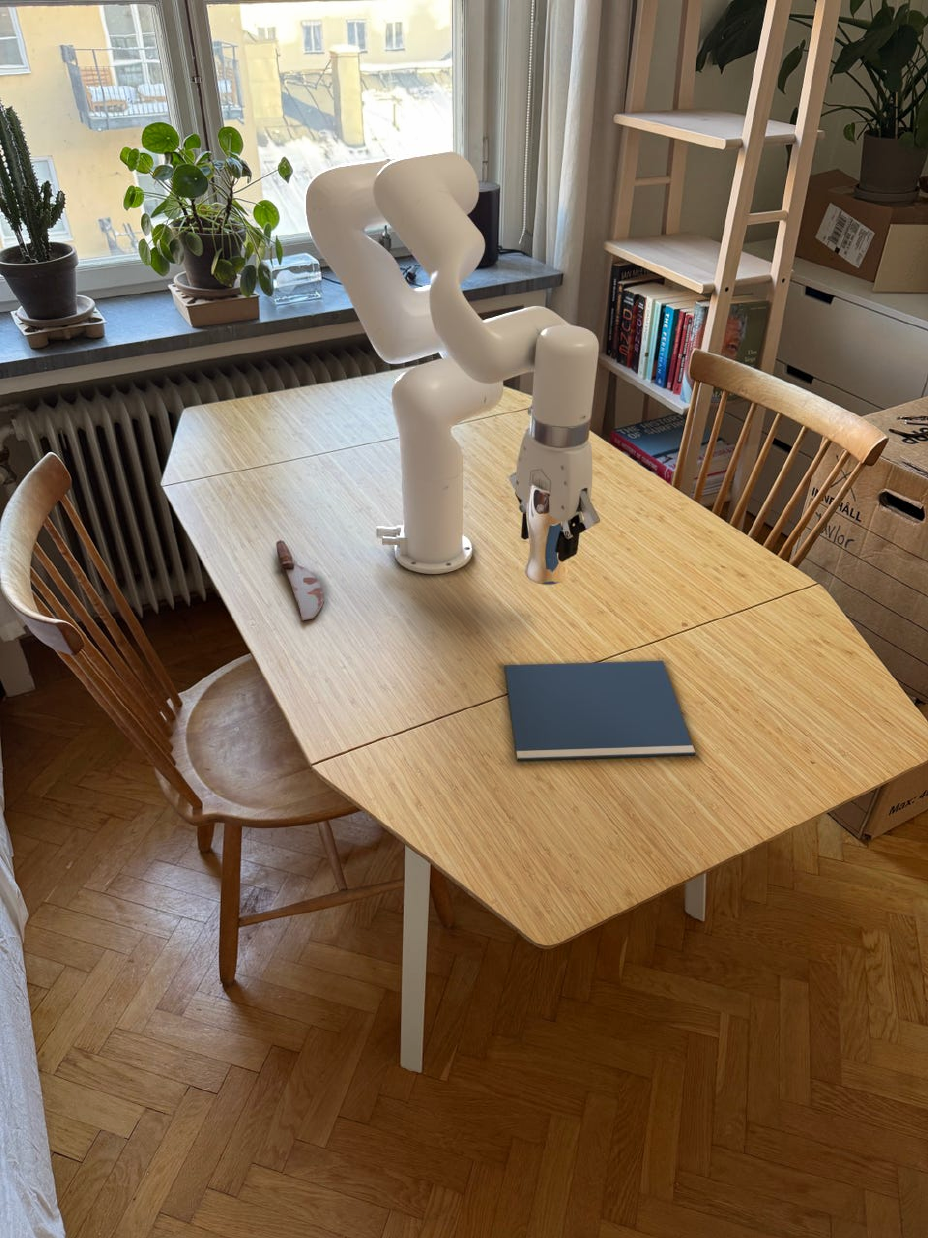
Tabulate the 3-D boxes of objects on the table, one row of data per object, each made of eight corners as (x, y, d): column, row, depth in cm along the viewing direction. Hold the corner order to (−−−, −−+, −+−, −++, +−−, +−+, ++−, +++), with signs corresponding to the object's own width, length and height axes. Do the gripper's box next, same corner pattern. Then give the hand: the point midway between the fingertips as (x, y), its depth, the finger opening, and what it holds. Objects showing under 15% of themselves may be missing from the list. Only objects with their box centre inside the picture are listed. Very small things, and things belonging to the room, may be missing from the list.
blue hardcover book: (517, 761, 112) (517, 759, 112) (504, 667, 127) (504, 664, 127) (695, 755, 113) (695, 753, 113) (662, 662, 128) (663, 660, 128)
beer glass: (518, 559, 133) (525, 467, 123) (566, 558, 133) (576, 466, 124) (525, 588, 127) (532, 493, 118) (574, 586, 128) (586, 492, 118)
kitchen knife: (333, 613, 136) (299, 616, 134) (332, 622, 137) (299, 625, 135) (305, 536, 151) (274, 538, 149) (304, 545, 152) (274, 547, 150)
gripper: (491, 412, 119) (486, 529, 130) (591, 461, 109) (576, 584, 120) (532, 396, 123) (523, 512, 134) (631, 443, 113) (614, 563, 124)
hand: (548, 545), depth 127 cm, fingers closed on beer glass, 6 cm apart
